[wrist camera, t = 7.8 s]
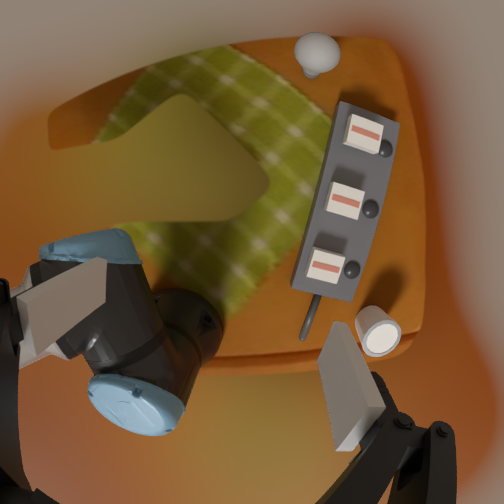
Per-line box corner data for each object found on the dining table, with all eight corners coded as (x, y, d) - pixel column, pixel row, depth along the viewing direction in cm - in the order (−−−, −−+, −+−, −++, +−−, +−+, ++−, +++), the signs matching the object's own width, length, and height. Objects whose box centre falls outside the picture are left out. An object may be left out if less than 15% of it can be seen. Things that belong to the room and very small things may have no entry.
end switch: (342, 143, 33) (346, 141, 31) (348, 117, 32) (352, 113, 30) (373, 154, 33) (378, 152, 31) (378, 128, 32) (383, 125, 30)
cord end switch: (304, 272, 39) (306, 276, 37) (312, 246, 38) (314, 249, 36) (333, 279, 39) (336, 284, 37) (342, 254, 38) (345, 257, 36)
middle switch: (323, 209, 37) (326, 210, 35) (330, 182, 36) (333, 181, 34) (353, 218, 37) (357, 220, 35) (360, 191, 36) (365, 191, 34)
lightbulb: (311, 97, 36) (324, 69, 26) (283, 72, 36) (285, 39, 25) (336, 75, 35) (354, 46, 24) (308, 52, 34) (317, 17, 24)
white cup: (379, 295, 43) (395, 312, 36) (390, 324, 44) (405, 343, 37) (345, 314, 44) (356, 334, 37) (358, 342, 45) (369, 364, 38)
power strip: (273, 332, 46) (273, 342, 43) (335, 106, 36) (340, 100, 33) (327, 343, 46) (330, 353, 42) (392, 127, 36) (400, 123, 33)
